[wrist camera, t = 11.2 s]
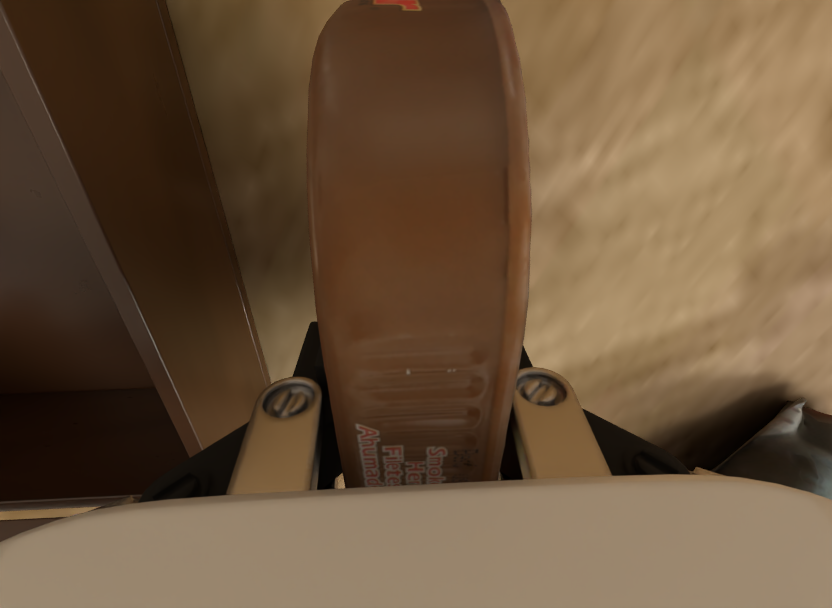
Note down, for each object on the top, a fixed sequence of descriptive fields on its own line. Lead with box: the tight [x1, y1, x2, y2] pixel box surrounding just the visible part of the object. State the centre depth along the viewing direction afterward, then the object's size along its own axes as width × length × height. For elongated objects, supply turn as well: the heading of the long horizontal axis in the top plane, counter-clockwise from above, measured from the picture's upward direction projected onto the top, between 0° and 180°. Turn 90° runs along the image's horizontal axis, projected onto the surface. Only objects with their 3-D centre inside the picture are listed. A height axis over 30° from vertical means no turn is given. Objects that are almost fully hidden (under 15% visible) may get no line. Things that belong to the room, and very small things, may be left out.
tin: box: [307, 0, 532, 488], centre depth 10 cm, size 15×3×8 cm, turn 1°
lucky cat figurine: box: [711, 398, 832, 500], centre depth 22 cm, size 15×12×14 cm
